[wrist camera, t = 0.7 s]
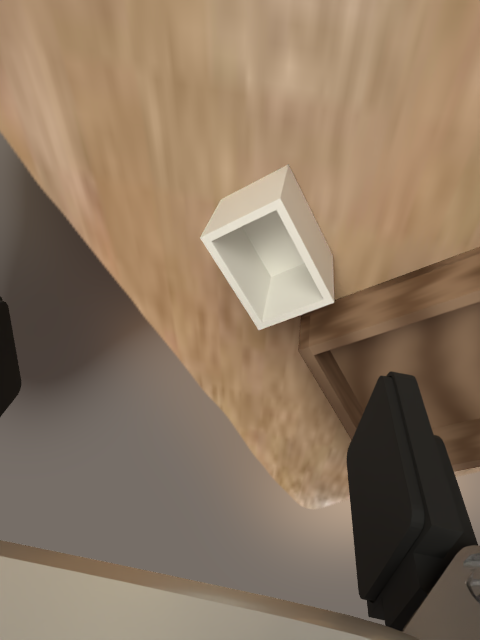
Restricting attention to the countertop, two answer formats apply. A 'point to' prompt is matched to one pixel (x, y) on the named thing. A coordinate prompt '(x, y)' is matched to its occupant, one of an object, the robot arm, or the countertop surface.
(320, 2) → the countertop surface
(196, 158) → the countertop surface
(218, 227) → the box
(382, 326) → the big crate
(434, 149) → the countertop surface
